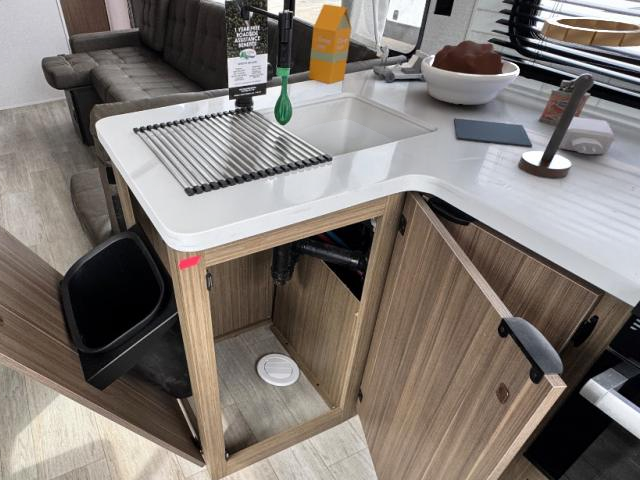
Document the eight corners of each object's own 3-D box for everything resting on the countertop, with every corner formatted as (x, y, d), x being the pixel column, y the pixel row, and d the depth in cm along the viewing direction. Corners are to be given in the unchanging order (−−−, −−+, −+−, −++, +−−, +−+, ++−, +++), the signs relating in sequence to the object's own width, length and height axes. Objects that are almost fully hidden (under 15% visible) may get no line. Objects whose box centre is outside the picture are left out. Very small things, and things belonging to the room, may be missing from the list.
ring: (649, 33, 80) (656, 20, 79) (686, 51, 69) (695, 36, 67) (534, 27, 84) (539, 15, 83) (551, 43, 73) (557, 29, 72)
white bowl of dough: (456, 84, 137) (473, 29, 127) (526, 107, 120) (551, 45, 110) (394, 94, 129) (407, 36, 119) (459, 120, 112) (481, 54, 102)
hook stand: (561, 163, 92) (608, 70, 80) (571, 181, 86) (625, 82, 74) (515, 157, 94) (554, 66, 82) (521, 175, 88) (565, 78, 76)
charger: (558, 158, 94) (554, 135, 104) (608, 166, 91) (599, 142, 101) (569, 136, 91) (563, 115, 101) (622, 144, 88) (610, 121, 98)
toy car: (383, 48, 132) (370, 40, 140) (376, 83, 138) (364, 73, 147) (439, 47, 133) (423, 39, 142) (430, 81, 140) (415, 72, 148)
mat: (521, 126, 109) (522, 124, 108) (531, 147, 99) (532, 145, 98) (453, 120, 112) (454, 118, 112) (456, 139, 102) (457, 137, 102)
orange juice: (323, 74, 146) (331, 3, 133) (344, 79, 141) (355, 6, 128) (308, 78, 142) (315, 5, 129) (329, 84, 137) (338, 8, 124)
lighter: (538, 121, 112) (556, 79, 105) (539, 118, 114) (558, 76, 107) (574, 128, 108) (595, 84, 101) (575, 124, 110) (596, 81, 104)
